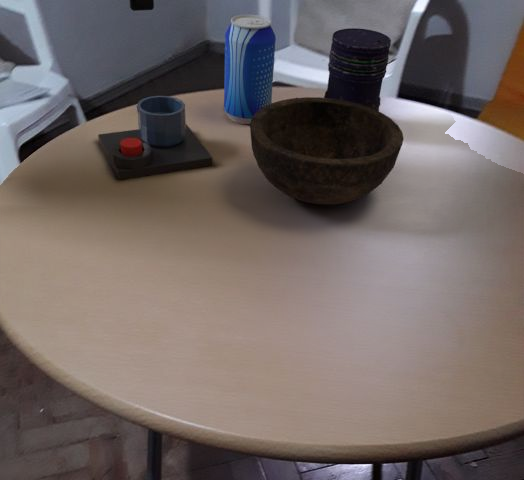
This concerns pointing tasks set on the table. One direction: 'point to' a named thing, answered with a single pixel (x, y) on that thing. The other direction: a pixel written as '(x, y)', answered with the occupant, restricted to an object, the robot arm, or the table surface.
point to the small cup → (161, 121)
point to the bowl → (324, 148)
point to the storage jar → (357, 66)
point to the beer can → (248, 66)
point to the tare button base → (153, 155)
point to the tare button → (131, 146)
